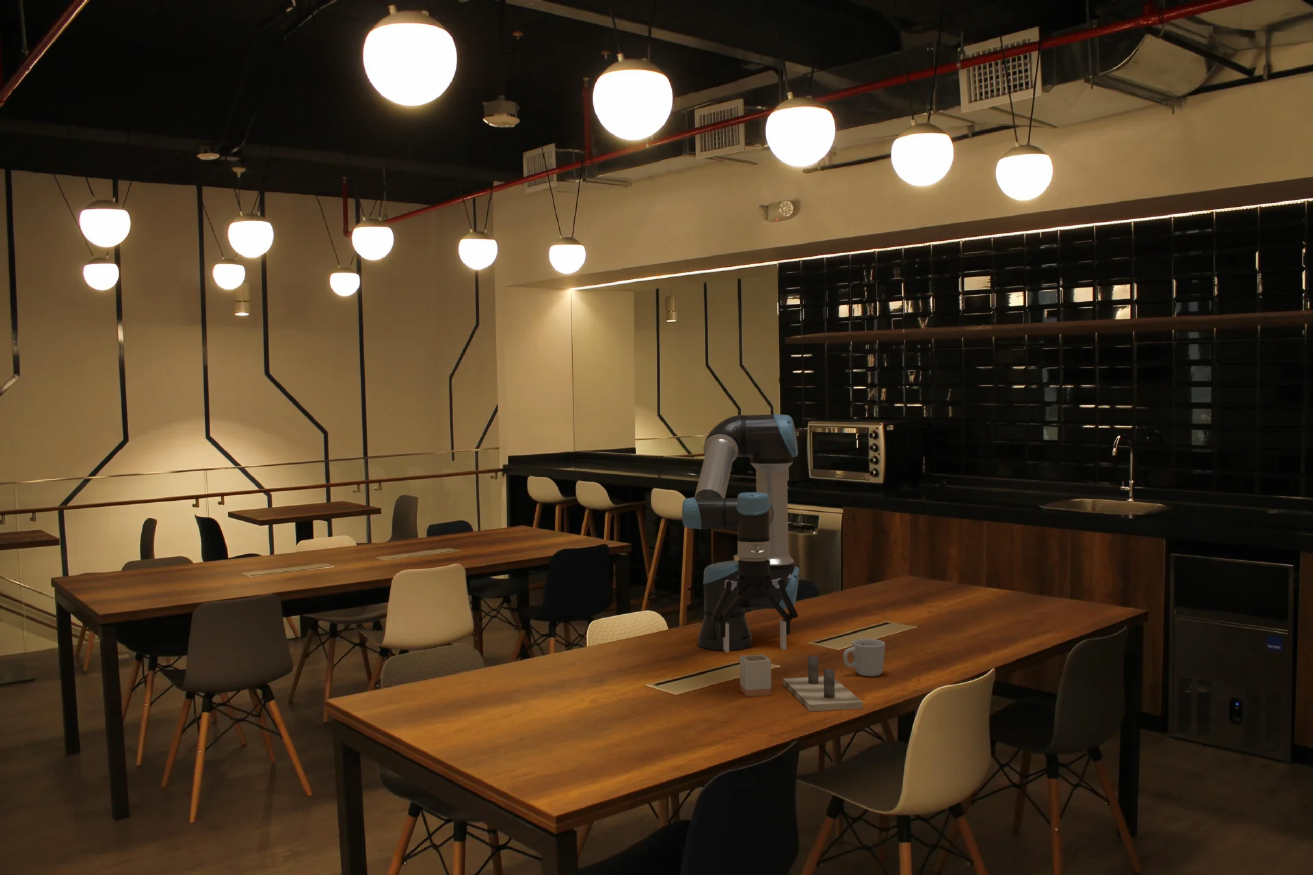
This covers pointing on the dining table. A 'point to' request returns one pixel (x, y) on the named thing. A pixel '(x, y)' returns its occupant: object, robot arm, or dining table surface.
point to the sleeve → (755, 675)
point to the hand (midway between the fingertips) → (754, 649)
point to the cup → (866, 656)
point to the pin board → (821, 690)
